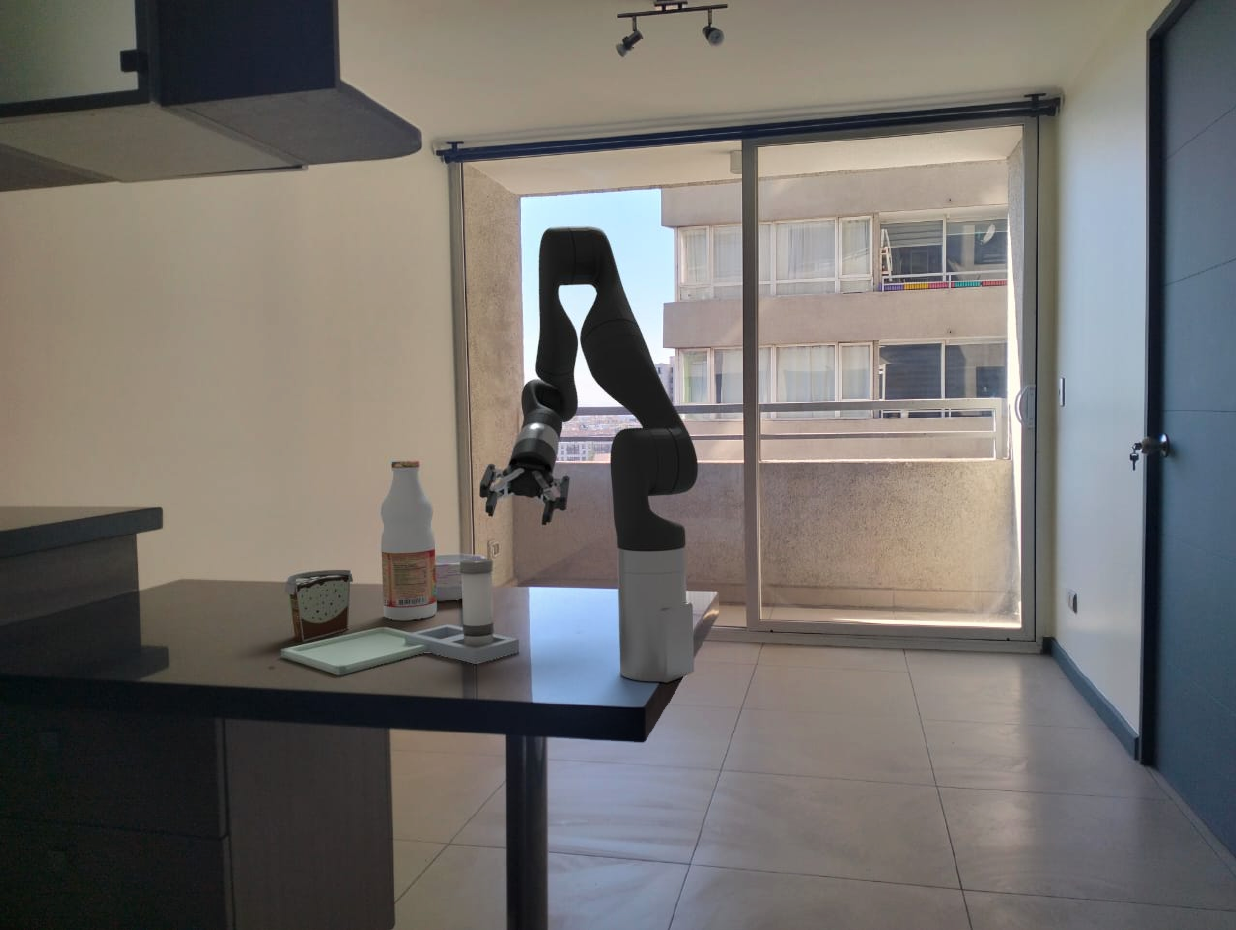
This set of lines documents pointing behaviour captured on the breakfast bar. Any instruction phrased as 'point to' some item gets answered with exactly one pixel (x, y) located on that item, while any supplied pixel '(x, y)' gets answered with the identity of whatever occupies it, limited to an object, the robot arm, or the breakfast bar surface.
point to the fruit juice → (408, 547)
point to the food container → (319, 602)
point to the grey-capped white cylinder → (477, 602)
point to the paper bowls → (450, 575)
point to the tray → (354, 651)
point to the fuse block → (461, 644)
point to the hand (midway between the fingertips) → (517, 516)
